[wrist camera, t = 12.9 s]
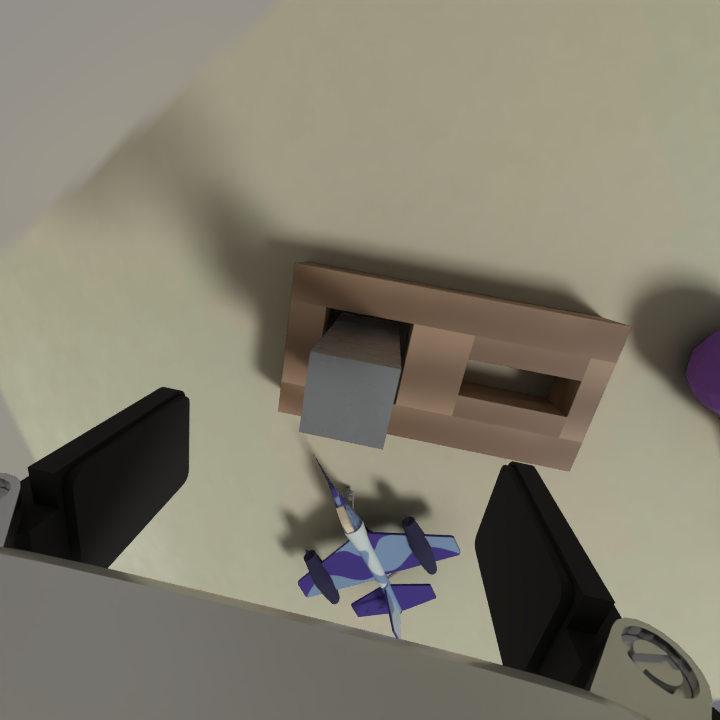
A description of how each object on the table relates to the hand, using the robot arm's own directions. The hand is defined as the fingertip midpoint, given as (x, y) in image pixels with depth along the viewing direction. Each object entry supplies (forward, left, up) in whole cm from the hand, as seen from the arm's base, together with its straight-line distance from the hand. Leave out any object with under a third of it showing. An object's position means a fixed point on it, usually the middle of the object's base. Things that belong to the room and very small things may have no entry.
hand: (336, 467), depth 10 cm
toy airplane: (+16, +3, -16) cm, 23 cm away
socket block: (0, +5, -16) cm, 16 cm away
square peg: (0, 0, -16) cm, 16 cm away
